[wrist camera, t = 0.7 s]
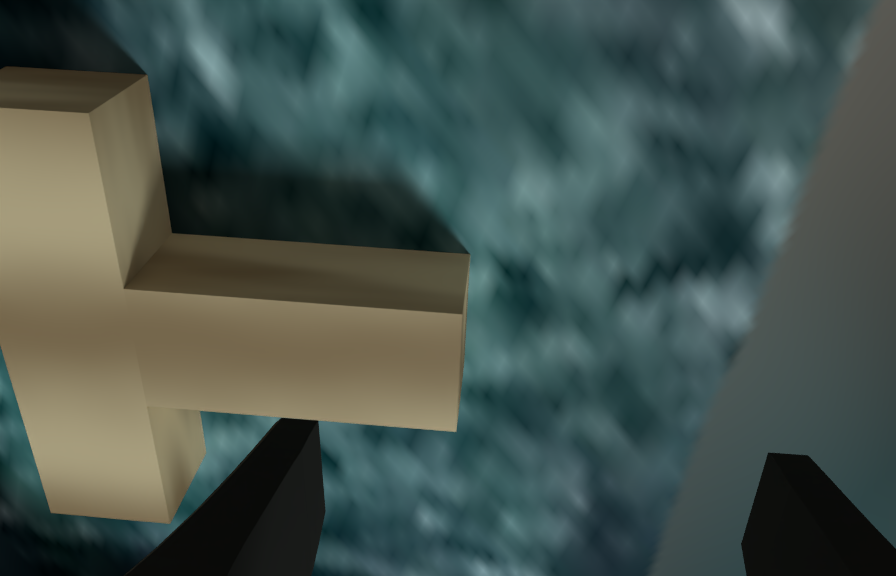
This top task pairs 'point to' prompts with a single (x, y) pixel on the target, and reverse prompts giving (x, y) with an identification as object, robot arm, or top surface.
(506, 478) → the top surface
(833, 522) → the robot arm
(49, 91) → the maple t block
